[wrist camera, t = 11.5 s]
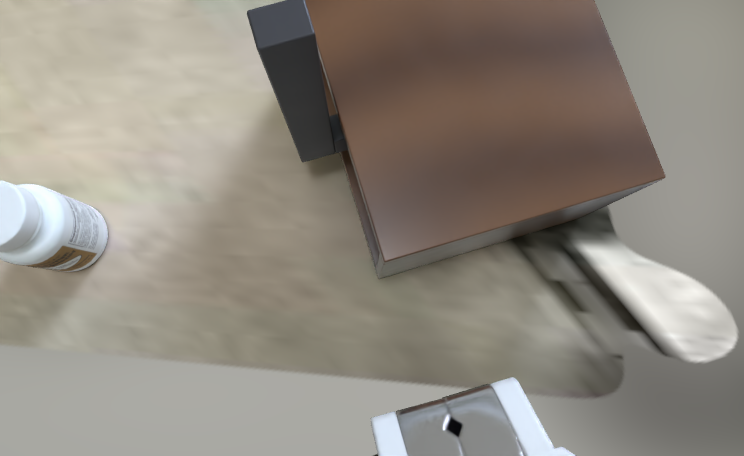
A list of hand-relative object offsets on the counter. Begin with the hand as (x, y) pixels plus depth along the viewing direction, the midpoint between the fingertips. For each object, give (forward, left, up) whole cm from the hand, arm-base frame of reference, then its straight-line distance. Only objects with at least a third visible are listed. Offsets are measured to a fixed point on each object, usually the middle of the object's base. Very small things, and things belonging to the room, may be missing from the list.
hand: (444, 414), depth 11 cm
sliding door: (+15, 0, -21) cm, 26 cm away
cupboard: (+12, -8, -22) cm, 27 cm away
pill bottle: (+12, +17, -22) cm, 31 cm away
